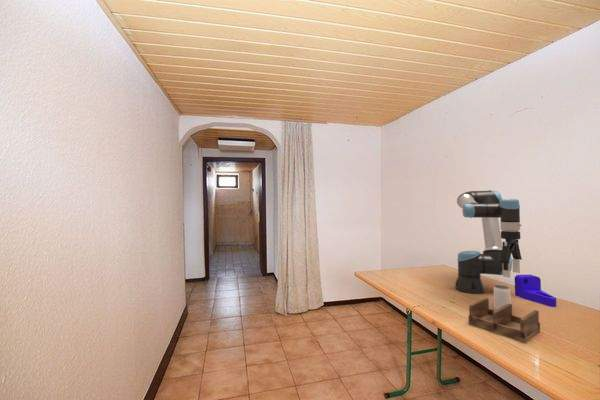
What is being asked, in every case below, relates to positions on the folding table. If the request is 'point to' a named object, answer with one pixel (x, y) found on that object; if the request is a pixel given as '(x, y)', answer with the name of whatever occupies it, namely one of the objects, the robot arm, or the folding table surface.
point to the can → (501, 296)
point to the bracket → (532, 290)
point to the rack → (504, 321)
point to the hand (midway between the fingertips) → (511, 274)
